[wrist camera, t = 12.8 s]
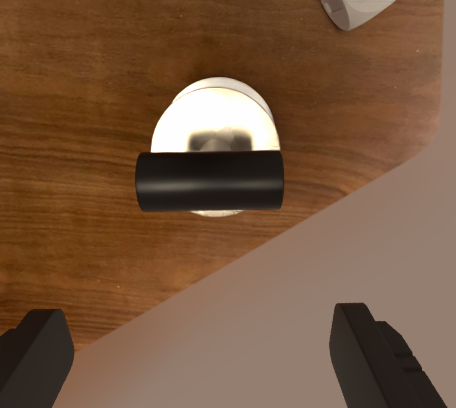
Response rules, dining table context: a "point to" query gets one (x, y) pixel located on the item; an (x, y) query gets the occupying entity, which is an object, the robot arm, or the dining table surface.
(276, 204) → the metal plunger pump
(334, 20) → the die
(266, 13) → the dining table surface
